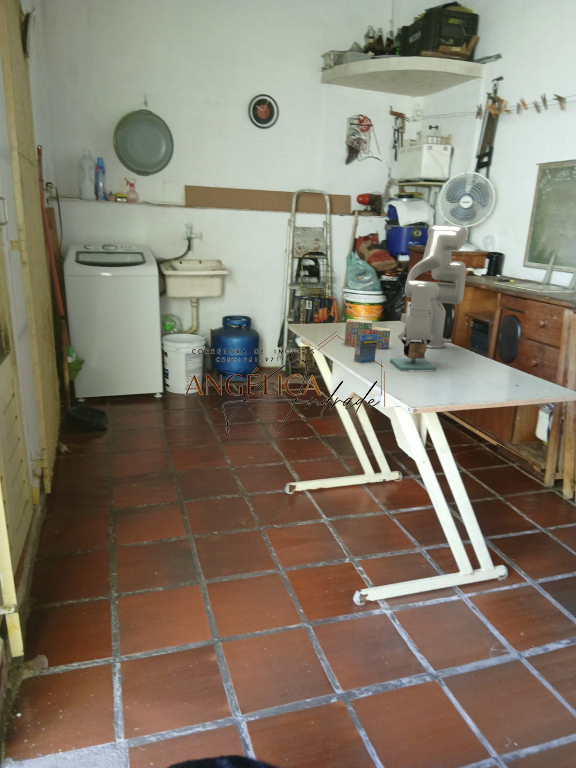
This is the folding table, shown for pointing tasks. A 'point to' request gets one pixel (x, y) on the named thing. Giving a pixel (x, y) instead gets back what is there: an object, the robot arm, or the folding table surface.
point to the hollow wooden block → (416, 350)
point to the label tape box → (366, 348)
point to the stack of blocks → (365, 333)
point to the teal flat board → (407, 365)
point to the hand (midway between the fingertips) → (414, 354)
